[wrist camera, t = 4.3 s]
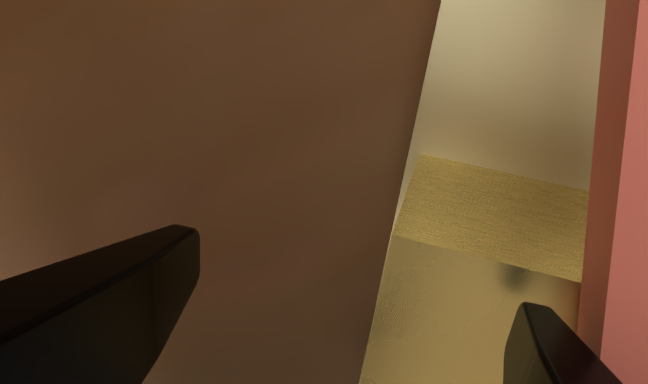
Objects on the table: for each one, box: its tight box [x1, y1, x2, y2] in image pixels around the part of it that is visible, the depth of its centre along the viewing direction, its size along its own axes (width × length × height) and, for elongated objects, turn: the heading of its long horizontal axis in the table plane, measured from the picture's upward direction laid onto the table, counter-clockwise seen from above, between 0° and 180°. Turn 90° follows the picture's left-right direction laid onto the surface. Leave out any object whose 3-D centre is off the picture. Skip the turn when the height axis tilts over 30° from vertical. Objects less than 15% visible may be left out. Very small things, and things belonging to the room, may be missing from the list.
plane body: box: [359, 0, 606, 384], centre depth 11 cm, size 16×5×6 cm, turn 172°
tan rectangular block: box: [360, 153, 589, 384], centre depth 12 cm, size 6×4×4 cm
